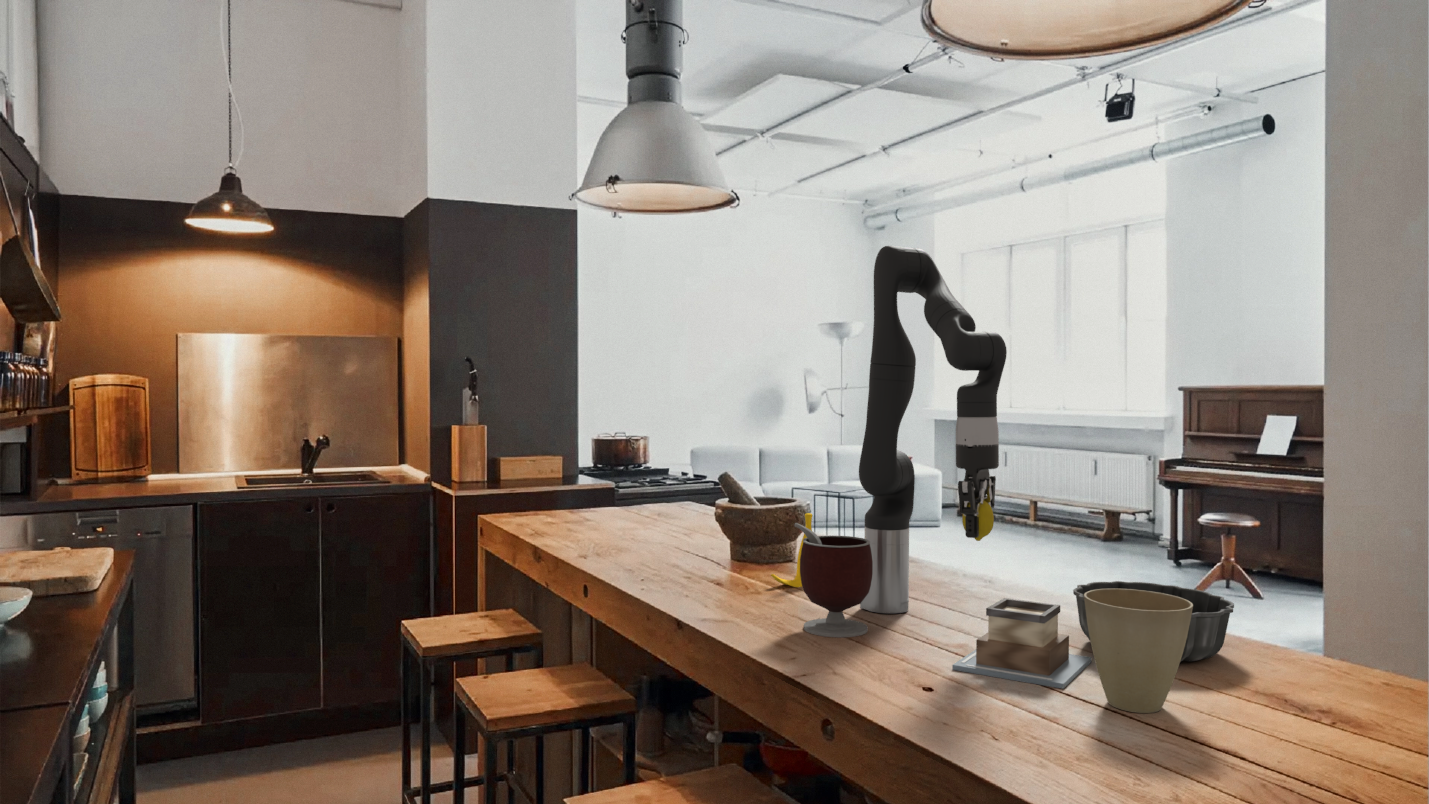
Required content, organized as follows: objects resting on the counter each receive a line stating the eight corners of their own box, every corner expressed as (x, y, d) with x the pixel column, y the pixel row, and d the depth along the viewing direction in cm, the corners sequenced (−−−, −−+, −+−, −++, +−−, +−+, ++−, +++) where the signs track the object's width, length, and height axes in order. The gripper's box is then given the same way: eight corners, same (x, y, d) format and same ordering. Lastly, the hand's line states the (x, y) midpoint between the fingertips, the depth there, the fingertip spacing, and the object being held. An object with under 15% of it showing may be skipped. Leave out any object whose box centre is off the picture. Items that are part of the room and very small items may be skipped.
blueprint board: (952, 669, 166) (952, 664, 166) (987, 645, 181) (987, 640, 181) (1063, 688, 156) (1063, 683, 156) (1091, 661, 171) (1091, 656, 171)
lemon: (995, 543, 178) (995, 498, 178) (963, 543, 179) (962, 498, 179) (992, 539, 184) (992, 495, 184) (961, 538, 185) (961, 495, 185)
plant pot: (1137, 728, 139) (1139, 614, 139) (1060, 696, 153) (1062, 592, 152) (1214, 714, 145) (1216, 604, 145) (1134, 685, 159) (1135, 585, 158)
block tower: (976, 663, 167) (976, 608, 167) (998, 647, 177) (999, 595, 177) (1049, 675, 161) (1050, 618, 160) (1068, 658, 171) (1069, 604, 170)
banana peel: (801, 574, 247) (802, 507, 247) (854, 588, 232) (854, 516, 231) (747, 582, 238) (748, 511, 238) (798, 596, 222) (798, 521, 222)
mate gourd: (880, 625, 196) (881, 523, 196) (860, 641, 184) (861, 533, 183) (805, 616, 203) (806, 518, 202) (781, 632, 190) (781, 527, 190)
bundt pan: (1221, 639, 187) (1222, 586, 187) (1246, 679, 162) (1247, 618, 162) (1071, 627, 196) (1072, 576, 196) (1073, 663, 171) (1074, 605, 171)
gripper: (970, 439, 189) (970, 529, 189) (942, 443, 177) (943, 539, 177) (1009, 440, 185) (1010, 531, 185) (984, 444, 173) (985, 542, 173)
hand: (977, 534), depth 181 cm, fingers closed on lemon, 5 cm apart
